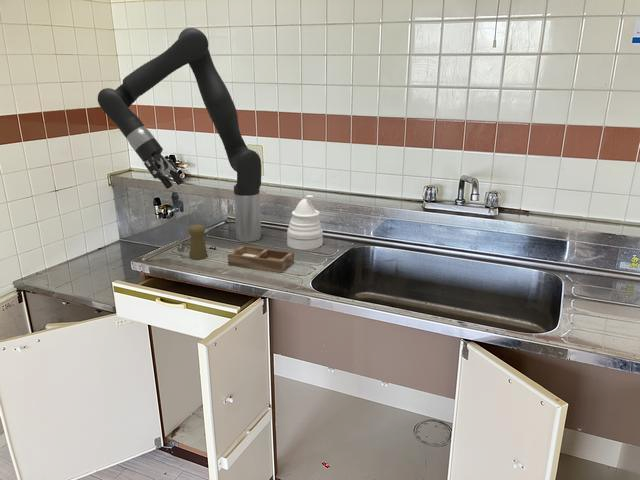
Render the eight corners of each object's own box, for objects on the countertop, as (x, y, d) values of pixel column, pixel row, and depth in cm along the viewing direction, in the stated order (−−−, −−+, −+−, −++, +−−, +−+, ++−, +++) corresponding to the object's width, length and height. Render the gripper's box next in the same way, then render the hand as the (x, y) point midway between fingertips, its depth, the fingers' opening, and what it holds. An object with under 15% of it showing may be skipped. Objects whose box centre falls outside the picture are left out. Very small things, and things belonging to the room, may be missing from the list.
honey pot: (329, 242, 187) (330, 194, 182) (309, 252, 177) (310, 201, 171) (300, 236, 194) (300, 189, 188) (280, 245, 184) (279, 196, 178)
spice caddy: (243, 255, 173) (242, 245, 172) (293, 262, 167) (293, 252, 166) (228, 264, 165) (227, 254, 163) (281, 272, 158) (281, 262, 157)
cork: (203, 260, 168) (201, 228, 165) (186, 259, 169) (183, 227, 166) (210, 254, 174) (208, 223, 170) (194, 253, 175) (191, 222, 171)
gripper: (142, 138, 156) (175, 181, 158) (162, 136, 170) (192, 176, 172) (125, 152, 158) (157, 195, 160) (146, 149, 172) (176, 188, 174)
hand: (175, 185), depth 166 cm, fingers open, 8 cm apart
